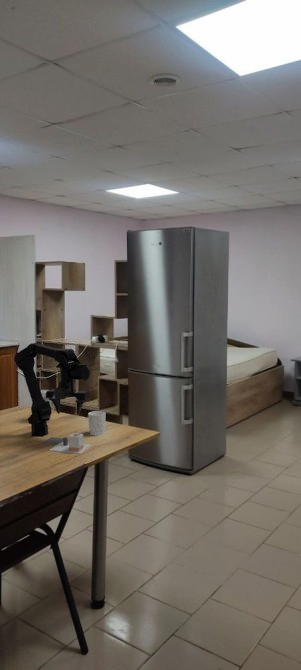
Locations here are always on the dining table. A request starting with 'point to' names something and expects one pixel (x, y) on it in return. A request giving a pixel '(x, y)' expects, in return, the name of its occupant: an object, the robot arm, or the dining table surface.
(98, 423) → the white cup
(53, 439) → the mat
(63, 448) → the pin board
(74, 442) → the sleeve
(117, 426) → the dining table surface
